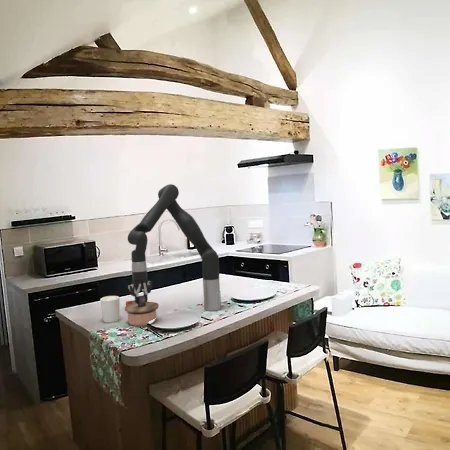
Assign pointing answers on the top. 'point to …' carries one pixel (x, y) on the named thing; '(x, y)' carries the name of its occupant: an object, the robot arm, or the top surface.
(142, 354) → the top surface
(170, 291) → the top surface
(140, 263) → the robot arm
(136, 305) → the lid
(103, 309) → the candle holder
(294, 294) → the top surface
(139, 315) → the bowl
